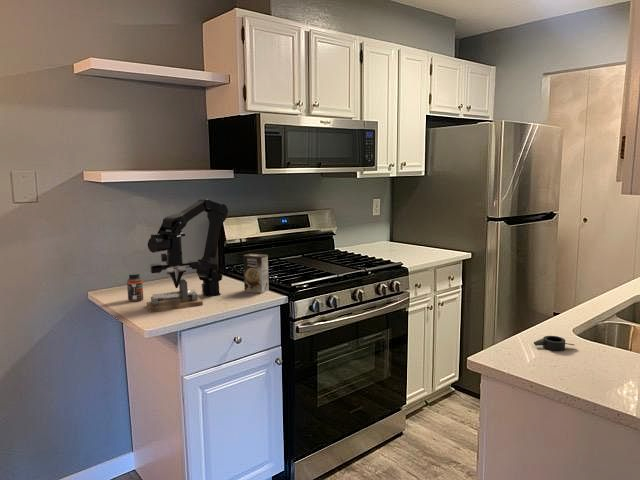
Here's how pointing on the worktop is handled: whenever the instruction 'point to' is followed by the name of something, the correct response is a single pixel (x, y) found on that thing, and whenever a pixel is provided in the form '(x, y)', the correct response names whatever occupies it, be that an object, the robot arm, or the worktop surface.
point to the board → (173, 304)
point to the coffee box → (255, 273)
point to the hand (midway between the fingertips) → (176, 287)
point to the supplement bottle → (135, 287)
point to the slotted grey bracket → (183, 290)
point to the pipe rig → (171, 296)
